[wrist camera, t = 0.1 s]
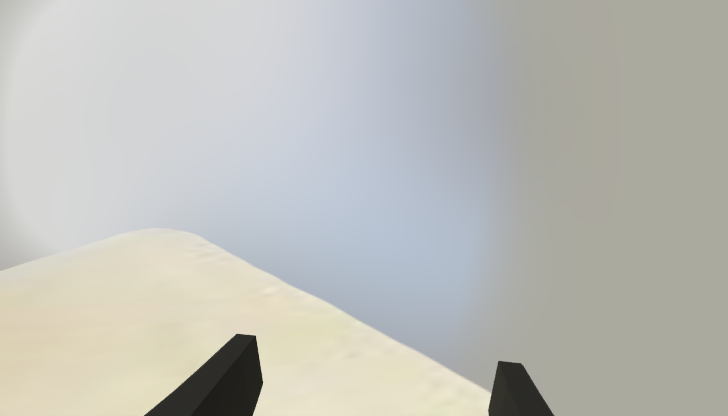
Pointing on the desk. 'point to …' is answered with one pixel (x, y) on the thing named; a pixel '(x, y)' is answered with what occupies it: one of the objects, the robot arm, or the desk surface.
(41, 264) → the desk surface
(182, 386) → the robot arm
